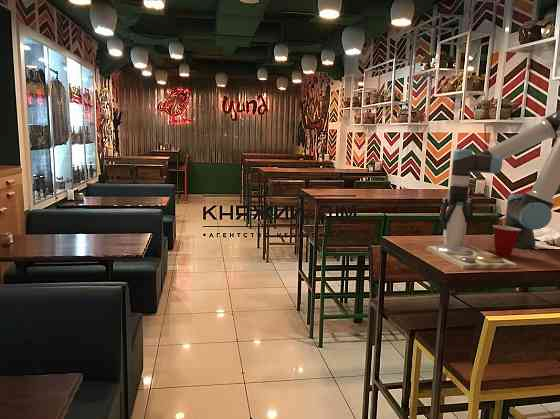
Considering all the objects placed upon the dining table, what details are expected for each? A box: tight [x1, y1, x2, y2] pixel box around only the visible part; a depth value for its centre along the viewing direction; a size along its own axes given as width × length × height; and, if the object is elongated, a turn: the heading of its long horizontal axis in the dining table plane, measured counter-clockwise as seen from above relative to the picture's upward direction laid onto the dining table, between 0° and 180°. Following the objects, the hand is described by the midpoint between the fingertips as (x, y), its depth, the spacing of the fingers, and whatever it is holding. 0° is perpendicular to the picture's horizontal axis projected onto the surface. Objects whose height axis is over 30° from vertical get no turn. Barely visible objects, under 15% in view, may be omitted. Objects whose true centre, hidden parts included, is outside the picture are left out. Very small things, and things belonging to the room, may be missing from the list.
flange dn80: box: [475, 254, 504, 263], centre depth 182 cm, size 10×10×1 cm
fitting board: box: [425, 245, 518, 270], centre depth 189 cm, size 22×28×2 cm
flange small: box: [461, 257, 475, 263], centre depth 179 cm, size 5×5×1 cm
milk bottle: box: [443, 202, 465, 246], centre depth 207 cm, size 8×8×20 cm
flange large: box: [435, 244, 473, 255], centre depth 194 cm, size 14×14×1 cm
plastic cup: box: [492, 224, 521, 257], centre depth 196 cm, size 11×11×12 cm
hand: (454, 236), depth 208 cm, fingers closed on milk bottle, 8 cm apart
